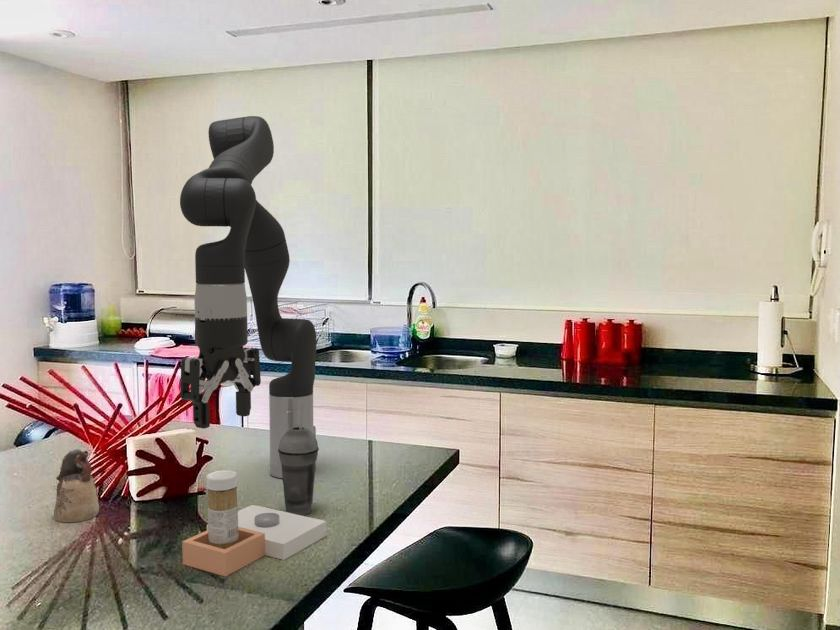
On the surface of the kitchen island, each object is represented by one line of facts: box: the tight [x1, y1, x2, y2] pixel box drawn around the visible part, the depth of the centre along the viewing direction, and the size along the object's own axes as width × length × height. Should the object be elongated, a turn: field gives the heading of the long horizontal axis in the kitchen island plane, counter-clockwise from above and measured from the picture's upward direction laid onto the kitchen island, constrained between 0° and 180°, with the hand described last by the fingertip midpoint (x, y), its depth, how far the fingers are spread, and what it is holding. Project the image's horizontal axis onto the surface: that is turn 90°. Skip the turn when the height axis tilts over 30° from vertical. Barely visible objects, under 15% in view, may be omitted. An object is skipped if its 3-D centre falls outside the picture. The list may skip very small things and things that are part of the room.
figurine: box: [53, 448, 100, 523], centre depth 126 cm, size 7×7×12 cm
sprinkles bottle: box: [205, 469, 239, 549], centre depth 108 cm, size 5×5×14 cm
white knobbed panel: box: [181, 504, 327, 577], centre depth 113 cm, size 20×16×4 cm
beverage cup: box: [278, 404, 320, 516], centre depth 129 cm, size 7×7×20 cm
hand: (223, 421), depth 107 cm, fingers open, 8 cm apart
